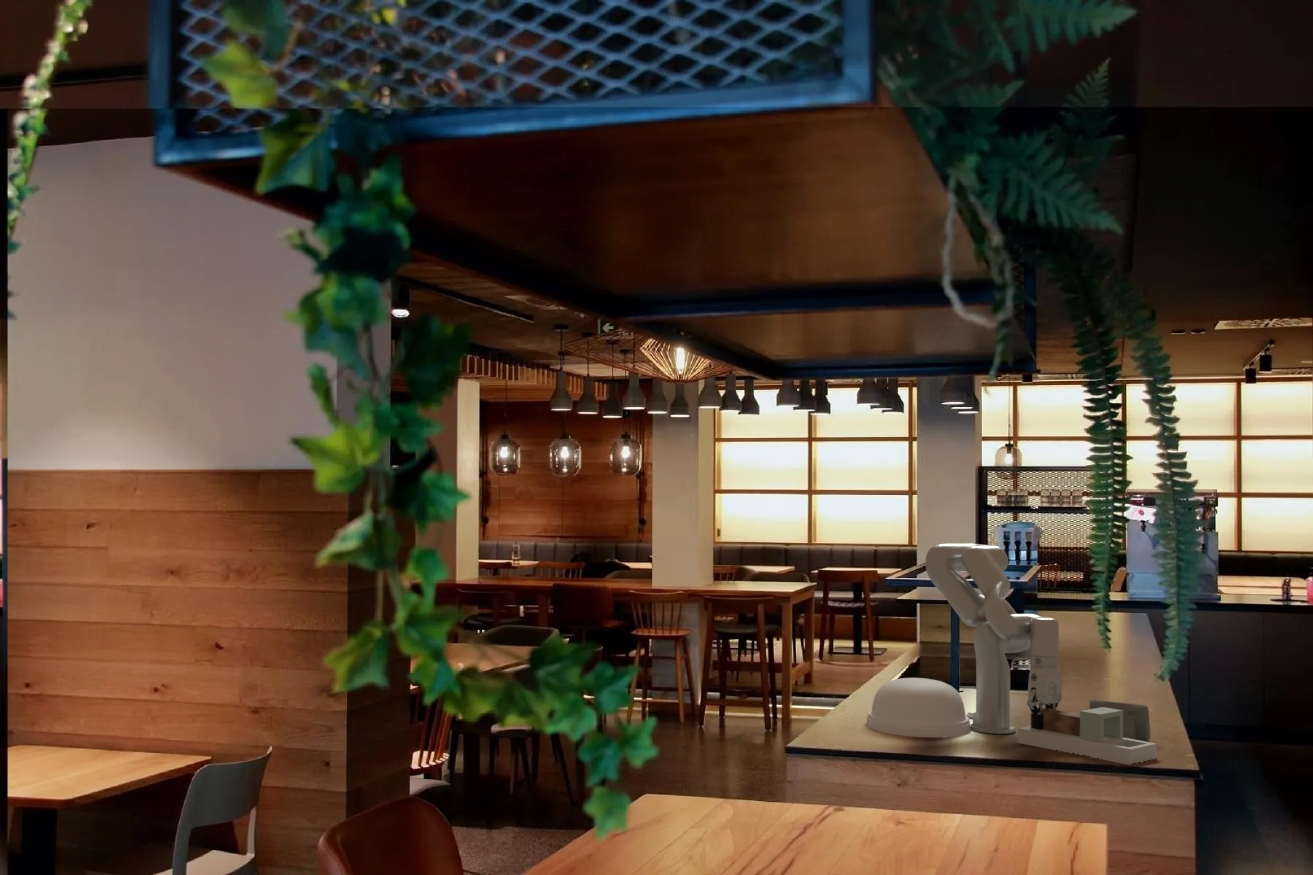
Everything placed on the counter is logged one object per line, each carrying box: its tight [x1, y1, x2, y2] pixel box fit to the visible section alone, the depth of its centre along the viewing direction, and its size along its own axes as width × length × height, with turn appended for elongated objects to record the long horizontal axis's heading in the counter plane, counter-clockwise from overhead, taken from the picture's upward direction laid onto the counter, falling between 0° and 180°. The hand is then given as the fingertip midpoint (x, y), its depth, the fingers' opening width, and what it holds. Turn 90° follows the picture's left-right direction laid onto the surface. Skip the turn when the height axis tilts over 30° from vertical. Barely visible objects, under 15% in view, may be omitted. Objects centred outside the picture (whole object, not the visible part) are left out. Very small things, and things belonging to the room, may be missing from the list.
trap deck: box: [1017, 725, 1158, 766], centre depth 334 cm, size 34×13×4 cm, turn 39°
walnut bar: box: [1030, 707, 1080, 736], centre depth 340 cm, size 15×5×5 cm, turn 39°
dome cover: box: [865, 677, 972, 739], centre depth 364 cm, size 32×30×14 cm
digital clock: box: [1089, 699, 1151, 742], centre depth 351 cm, size 16×9×11 cm, turn 46°
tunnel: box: [1079, 707, 1123, 743], centre depth 331 cm, size 6×11×7 cm, turn 129°
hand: (1043, 727), depth 344 cm, fingers closed on walnut bar, 5 cm apart
